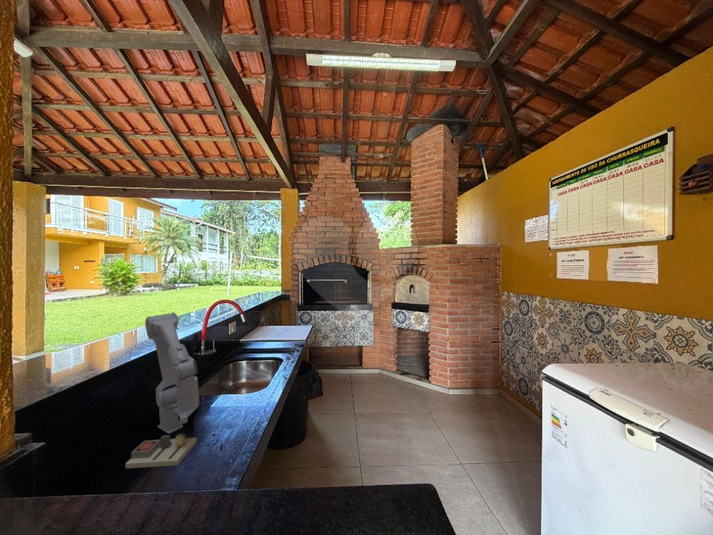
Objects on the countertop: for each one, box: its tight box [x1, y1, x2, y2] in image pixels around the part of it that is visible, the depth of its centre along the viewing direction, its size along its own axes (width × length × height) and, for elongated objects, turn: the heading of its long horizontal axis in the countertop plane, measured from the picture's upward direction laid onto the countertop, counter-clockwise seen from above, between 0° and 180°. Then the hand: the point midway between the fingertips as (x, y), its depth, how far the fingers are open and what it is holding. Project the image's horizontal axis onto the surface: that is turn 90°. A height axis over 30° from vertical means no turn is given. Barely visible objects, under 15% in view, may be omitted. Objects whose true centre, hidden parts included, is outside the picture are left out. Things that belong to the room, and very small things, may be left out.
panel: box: [124, 437, 198, 469], centre depth 92 cm, size 16×11×4 cm
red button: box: [140, 442, 153, 451], centre depth 91 cm, size 4×4×2 cm
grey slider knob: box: [160, 434, 172, 448], centre depth 93 cm, size 3×2×3 cm, turn 91°
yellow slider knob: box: [175, 433, 187, 447], centre depth 93 cm, size 3×2×3 cm, turn 91°
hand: (189, 432), depth 98 cm, fingers closed
